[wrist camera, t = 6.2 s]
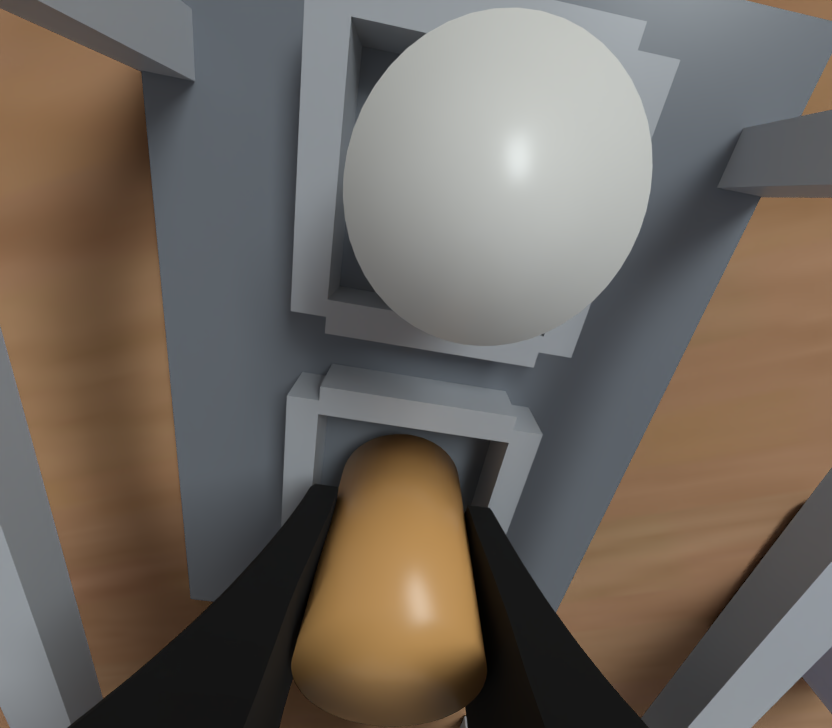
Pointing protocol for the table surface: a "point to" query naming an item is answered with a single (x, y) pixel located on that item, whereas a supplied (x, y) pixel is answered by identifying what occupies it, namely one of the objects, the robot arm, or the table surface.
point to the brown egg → (393, 593)
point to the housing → (407, 345)
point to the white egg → (497, 176)
